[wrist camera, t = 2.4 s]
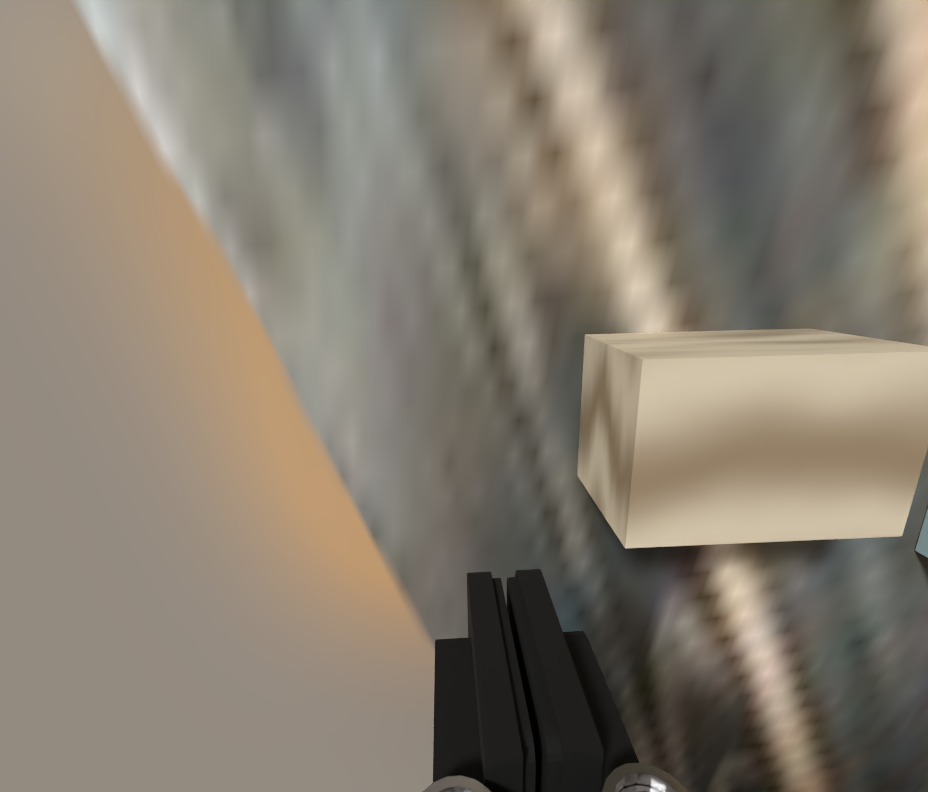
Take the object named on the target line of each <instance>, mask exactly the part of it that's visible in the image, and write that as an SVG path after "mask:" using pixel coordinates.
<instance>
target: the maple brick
mask: <svg viewBox="0 0 928 792" xmlns="http://www.w3.org/2000/svg"><path fill="white" fill-rule="evenodd" d="M927 448H928V346H921V345H915V344H908V343H902V342H895V341H888V340H882V339H875V338H869V337H862V336H855V335H849V334H842V333H836V332H829V331H822V330H816V329H775V330H737V331H699V332H661V333H623V334H585V345H584V363H583V381H582V399H581V418H580V436H579V454H578V472H577V476H578V477H579V479H580V480H581V482H582V483H583V485H584V486H585V488H586V490H587V491H588V493H589V494H590V496H591V497H592V499H593V500H594V502H595V503H596V505H597V506H598V508H599V509H600V511H601V512H602V514H603V515H604V517H605V518H606V520H607V522H608V523H609V525H610V526H611V528H612V529H613V531H614V532H615V534H616V535H617V537H618V538H619V540H620V541H621V543H622V544H623V546H624V547H625V548H646V547H669V546H691V545H714V544H736V543H759V542H782V541H804V540H827V539H849V538H872V537H895V536H902V534H903V531H904V528H905V524H906V521H907V517H908V514H909V510H910V507H911V503H912V500H913V496H914V493H915V490H916V486H917V483H918V479H919V476H920V472H921V469H922V465H923V462H924V458H925V455H926V451H927Z"/></svg>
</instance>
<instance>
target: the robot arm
mask: <svg viewBox="0 0 928 792" xmlns="http://www.w3.org/2000/svg"><path fill="white" fill-rule="evenodd" d="M467 599H468V638H456V639H439V640H436V641H435V692H434V693H435V694H434V695H435V696H434V759H433V783H432V784H431V785H430V786H429V787H427V788H426V789H425V790H424V791H423V792H689V791H688V790H687V789H686V787H684V786H683V785H682V784H681V783H680V782H679V781H677V780H676V779H675V778H674V777H673V776H672V775H670V774H668V773H667V772H665V771H663V770H661V769H659V768H657V767H655V766H652V765H648V764H644V763H639V761H638V759H637V756H636V754H635V751H634V749H633V747H632V744H631V742H630V739H629V737H628V735H627V732H626V730H625V727H624V725H623V722H622V720H621V718H620V715H619V713H618V710H617V708H616V706H615V703H614V701H613V698H612V696H611V694H610V691H609V689H608V686H607V684H606V681H605V679H604V677H603V674H602V672H601V669H600V667H599V665H598V662H597V660H596V657H595V655H594V652H593V650H592V648H591V645H590V643H589V640H588V638H587V636H586V634H585V633H584V632H583V631H575V632H562V629H561V626H560V623H559V620H558V617H557V615H556V612H555V609H554V606H553V603H552V600H551V597H550V595H549V592H548V589H547V586H546V583H545V580H544V577H543V575H542V572H541V570H540V569H533V570H516V573H515V577H510V578H507V607H506V602H505V597H504V592H503V587H502V582H501V579H500V578H492V575H491V572H476V573H467Z"/></svg>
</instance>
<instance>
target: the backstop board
mask: <svg viewBox="0 0 928 792" xmlns="http://www.w3.org/2000/svg"><path fill="white" fill-rule="evenodd" d="M915 551H917V552H919V553H920V554H922V555H924V556H925V557H927V558H928V509H927V512H926V516H925V519H924V522H923V526H922V529H921V532H920V536H919V539H918V542H917V546H916V549H915Z"/></svg>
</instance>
